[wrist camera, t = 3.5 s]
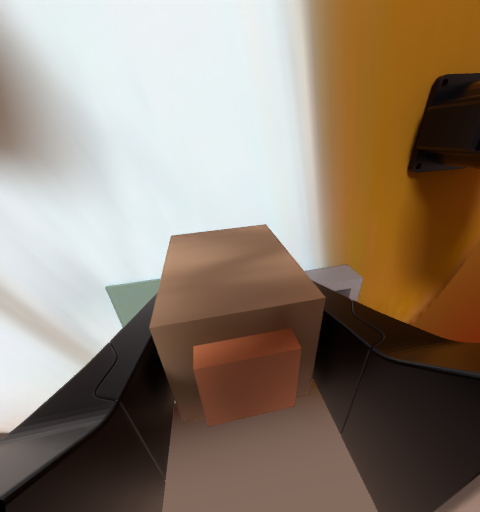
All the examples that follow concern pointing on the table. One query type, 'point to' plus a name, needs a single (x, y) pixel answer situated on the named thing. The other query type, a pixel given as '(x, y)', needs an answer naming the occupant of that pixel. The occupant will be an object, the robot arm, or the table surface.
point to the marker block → (235, 324)
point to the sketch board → (131, 298)
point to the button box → (338, 280)
